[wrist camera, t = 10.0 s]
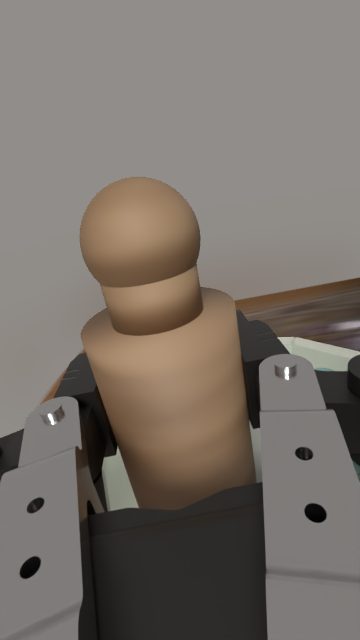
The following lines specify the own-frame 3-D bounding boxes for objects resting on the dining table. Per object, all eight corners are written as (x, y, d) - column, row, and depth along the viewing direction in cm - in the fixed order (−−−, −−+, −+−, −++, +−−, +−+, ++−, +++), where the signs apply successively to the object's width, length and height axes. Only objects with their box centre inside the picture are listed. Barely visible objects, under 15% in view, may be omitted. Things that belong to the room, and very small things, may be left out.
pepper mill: (286, 545, 12) (255, 152, 7) (218, 651, 10) (94, 179, 5) (207, 487, 15) (142, 177, 10) (139, 559, 13) (6, 201, 7)
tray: (518, 442, 17) (538, 378, 15) (403, 1133, 6) (434, 1167, 4) (225, 351, 30) (220, 311, 28) (21, 500, 19) (-7, 450, 17)
